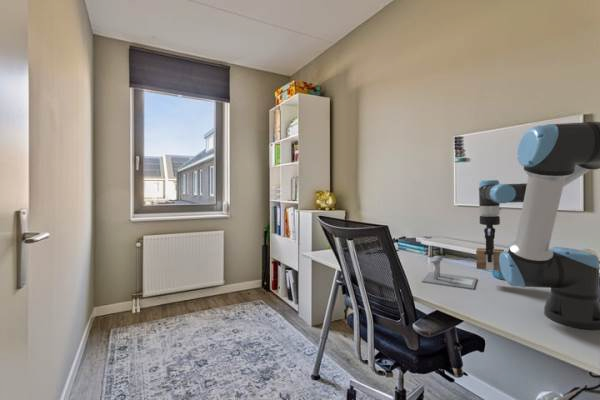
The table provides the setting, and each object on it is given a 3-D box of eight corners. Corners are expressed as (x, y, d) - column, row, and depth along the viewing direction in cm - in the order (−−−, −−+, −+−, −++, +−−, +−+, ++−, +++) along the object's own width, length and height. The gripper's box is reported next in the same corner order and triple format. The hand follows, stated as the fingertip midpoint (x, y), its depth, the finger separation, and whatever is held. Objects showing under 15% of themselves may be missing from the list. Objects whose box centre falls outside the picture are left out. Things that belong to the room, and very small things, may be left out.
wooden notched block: (504, 271, 126) (503, 252, 126) (476, 268, 132) (476, 250, 132) (504, 267, 132) (503, 249, 132) (477, 265, 138) (477, 247, 138)
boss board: (473, 289, 129) (473, 266, 128) (422, 282, 141) (421, 261, 140) (476, 279, 142) (476, 258, 142) (429, 273, 154) (429, 253, 154)
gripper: (499, 217, 121) (500, 273, 122) (500, 213, 138) (501, 263, 138) (477, 217, 126) (478, 271, 126) (481, 213, 142) (482, 261, 142)
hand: (490, 267), depth 132 cm, fingers closed on wooden notched block, 7 cm apart
